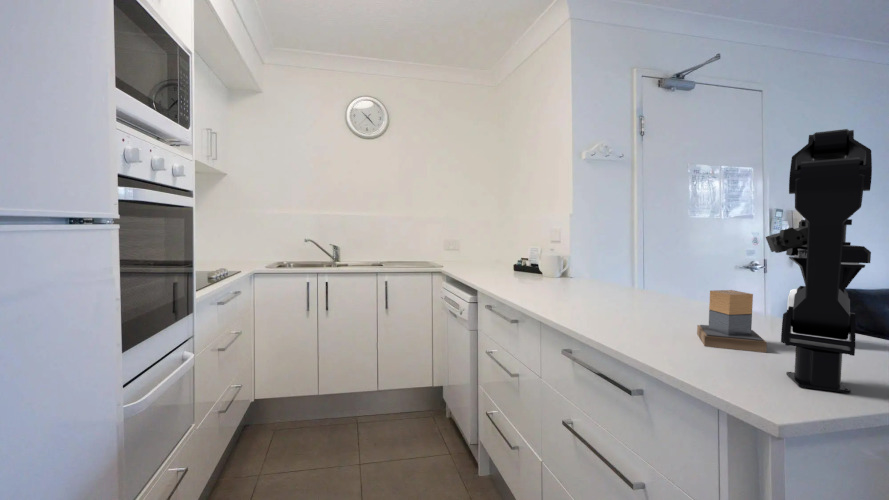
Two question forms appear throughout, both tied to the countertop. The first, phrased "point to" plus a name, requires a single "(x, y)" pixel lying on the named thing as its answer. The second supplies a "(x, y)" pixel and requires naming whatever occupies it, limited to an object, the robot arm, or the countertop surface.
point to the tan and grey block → (730, 312)
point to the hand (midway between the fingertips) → (820, 297)
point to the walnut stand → (731, 340)
